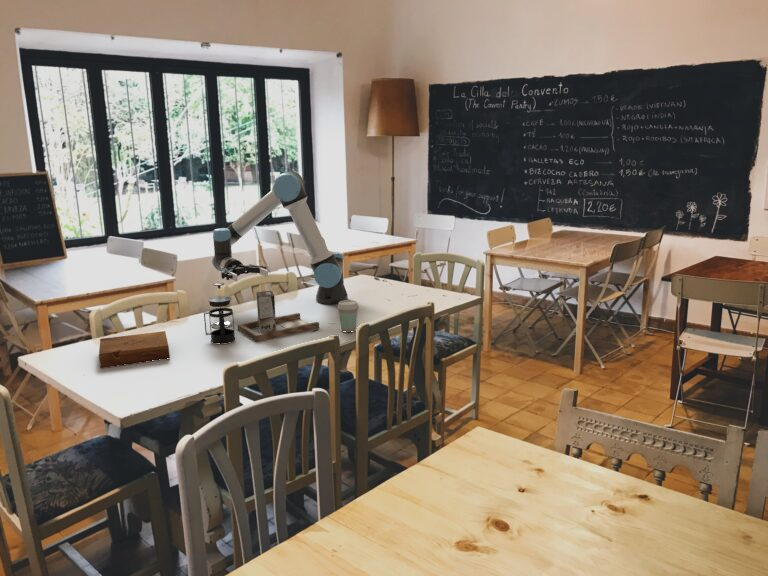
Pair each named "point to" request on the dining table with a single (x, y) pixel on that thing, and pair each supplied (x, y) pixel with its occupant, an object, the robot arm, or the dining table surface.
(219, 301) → the french press
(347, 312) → the coffee cup
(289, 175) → the robot arm
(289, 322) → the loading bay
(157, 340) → the brown wooden flat block
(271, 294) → the coffee box
